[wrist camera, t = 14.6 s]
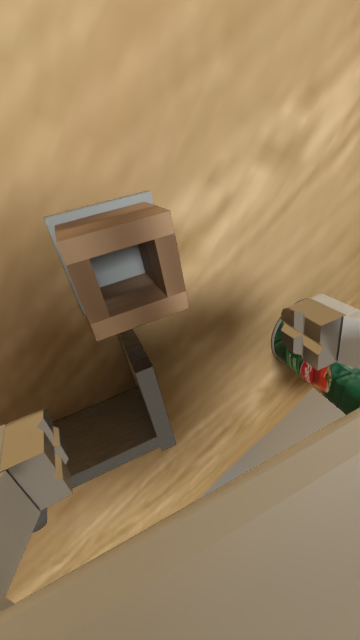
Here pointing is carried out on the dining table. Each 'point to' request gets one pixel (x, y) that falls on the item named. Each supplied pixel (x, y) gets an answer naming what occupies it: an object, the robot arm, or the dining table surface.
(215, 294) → the dining table surface
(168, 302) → the brown hollow square block
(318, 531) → the robot arm
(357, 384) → the canned tomato
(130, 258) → the mat
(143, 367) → the bent rail
